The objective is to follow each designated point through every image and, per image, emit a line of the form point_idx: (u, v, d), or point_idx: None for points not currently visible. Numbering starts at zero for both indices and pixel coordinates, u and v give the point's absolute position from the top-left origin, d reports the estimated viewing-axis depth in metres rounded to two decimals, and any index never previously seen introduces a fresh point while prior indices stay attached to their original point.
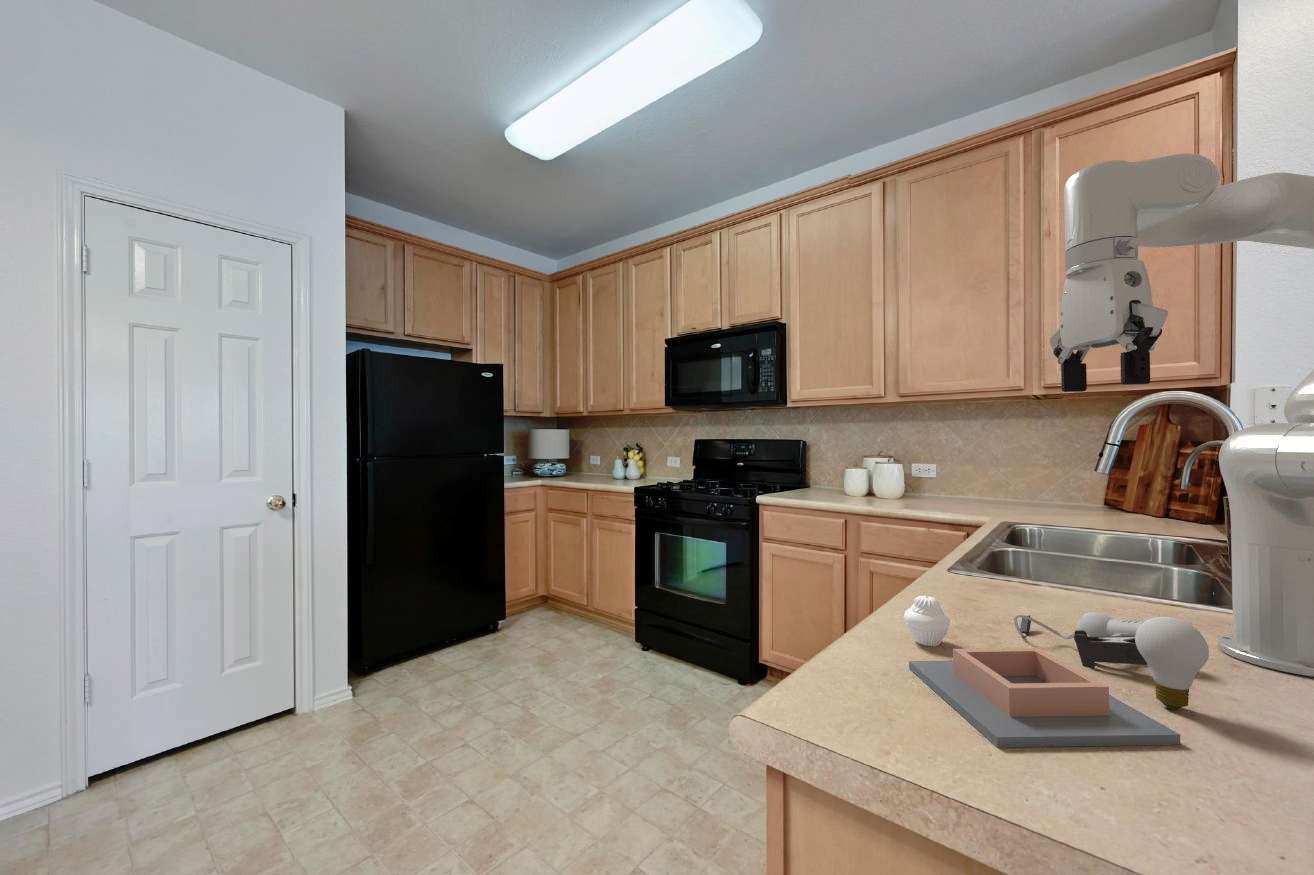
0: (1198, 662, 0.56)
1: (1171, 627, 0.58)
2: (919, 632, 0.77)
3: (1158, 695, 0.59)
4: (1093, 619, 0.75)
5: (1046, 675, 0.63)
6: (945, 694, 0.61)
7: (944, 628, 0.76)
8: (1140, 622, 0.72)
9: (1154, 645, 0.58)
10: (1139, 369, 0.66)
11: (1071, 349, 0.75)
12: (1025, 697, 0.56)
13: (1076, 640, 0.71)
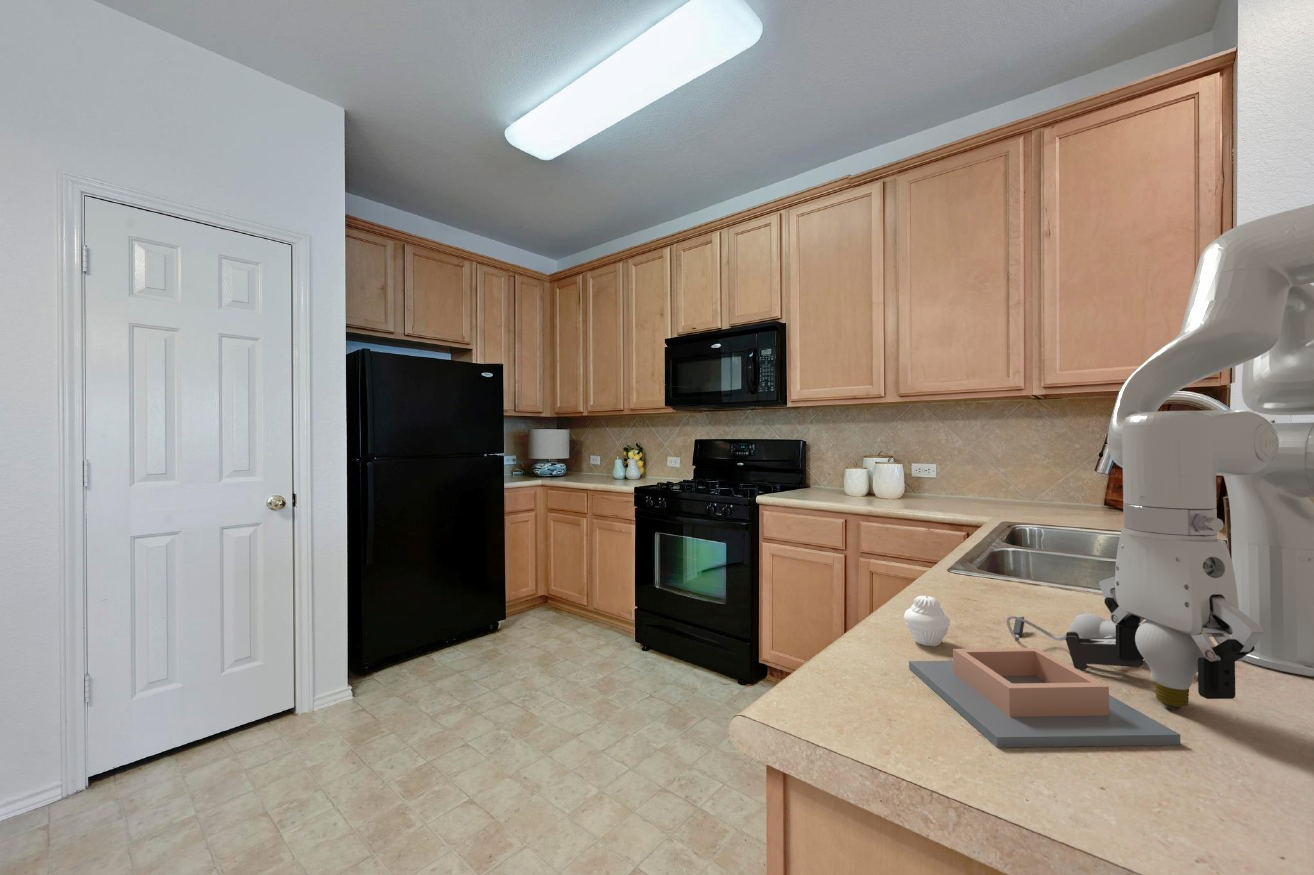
0: None
1: None
2: (919, 632, 0.77)
3: (1158, 695, 0.59)
4: (1086, 621, 0.75)
5: (1046, 675, 0.63)
6: (945, 694, 0.61)
7: (944, 628, 0.76)
8: None
9: (1154, 645, 0.58)
10: (1223, 684, 0.53)
11: (1129, 613, 0.63)
12: (1025, 697, 0.56)
13: (1067, 642, 0.70)
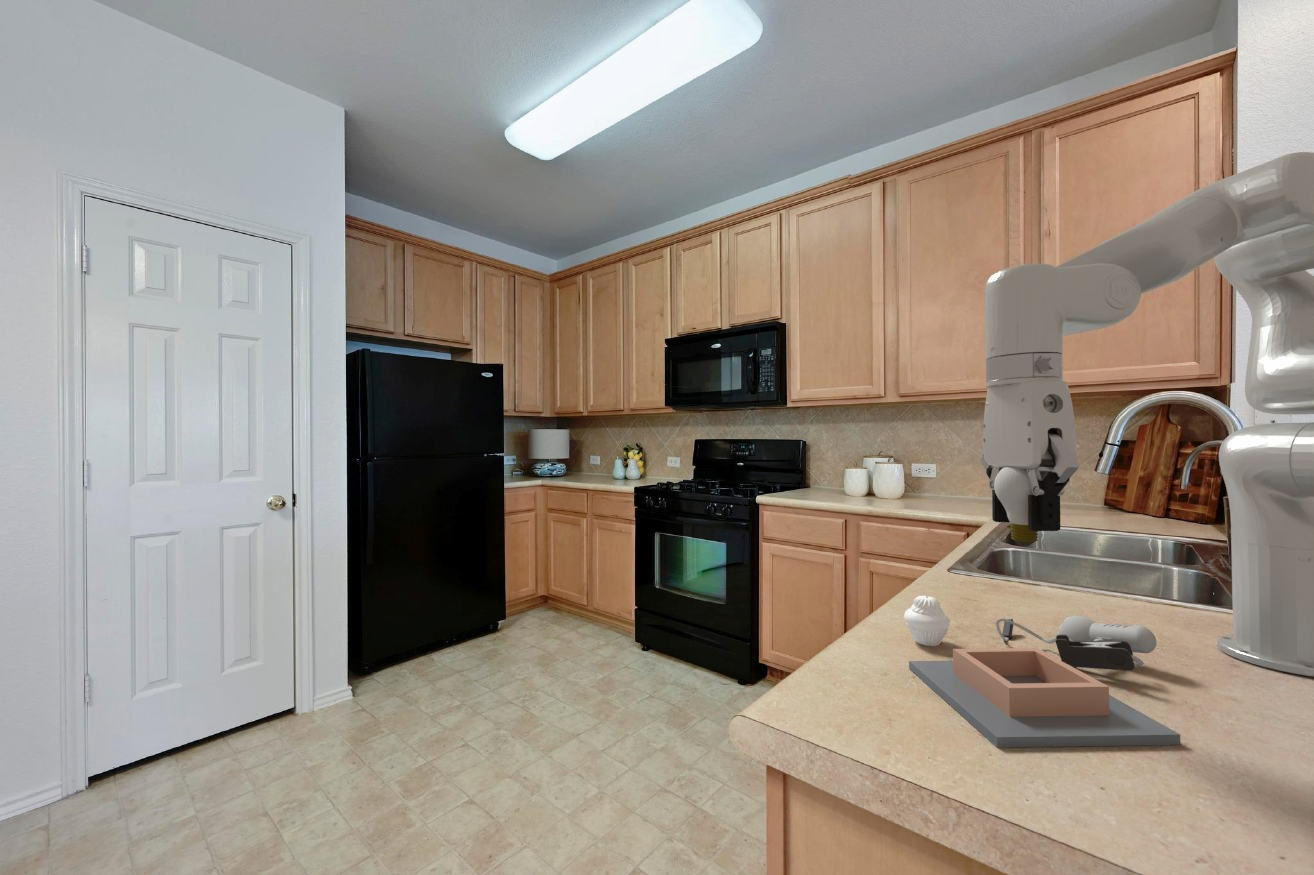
0: None
1: None
2: (919, 632, 0.77)
3: (1012, 534, 0.63)
4: (1075, 623, 0.74)
5: (1046, 675, 0.63)
6: (945, 694, 0.61)
7: (944, 628, 0.76)
8: (1122, 626, 0.70)
9: (1005, 484, 0.62)
10: (1047, 516, 0.59)
11: (999, 470, 0.65)
12: (1025, 697, 0.56)
13: (1058, 645, 0.69)
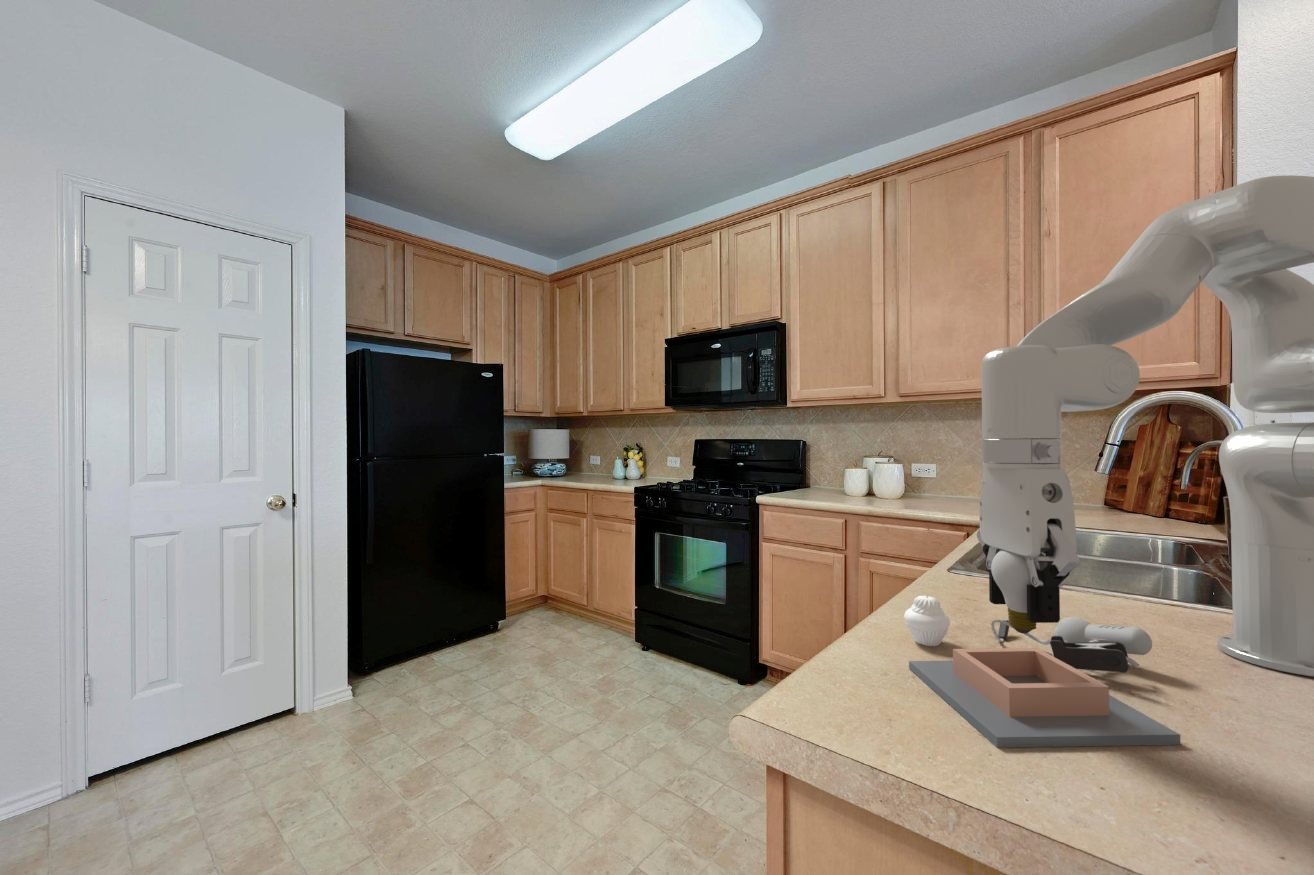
0: None
1: None
2: (919, 632, 0.77)
3: (1009, 620, 0.61)
4: (1071, 624, 0.73)
5: (1046, 675, 0.63)
6: (945, 694, 0.61)
7: (944, 628, 0.76)
8: (1118, 627, 0.70)
9: (1003, 571, 0.60)
10: (1046, 608, 0.57)
11: (996, 551, 0.64)
12: (1025, 697, 0.56)
13: (1052, 646, 0.69)
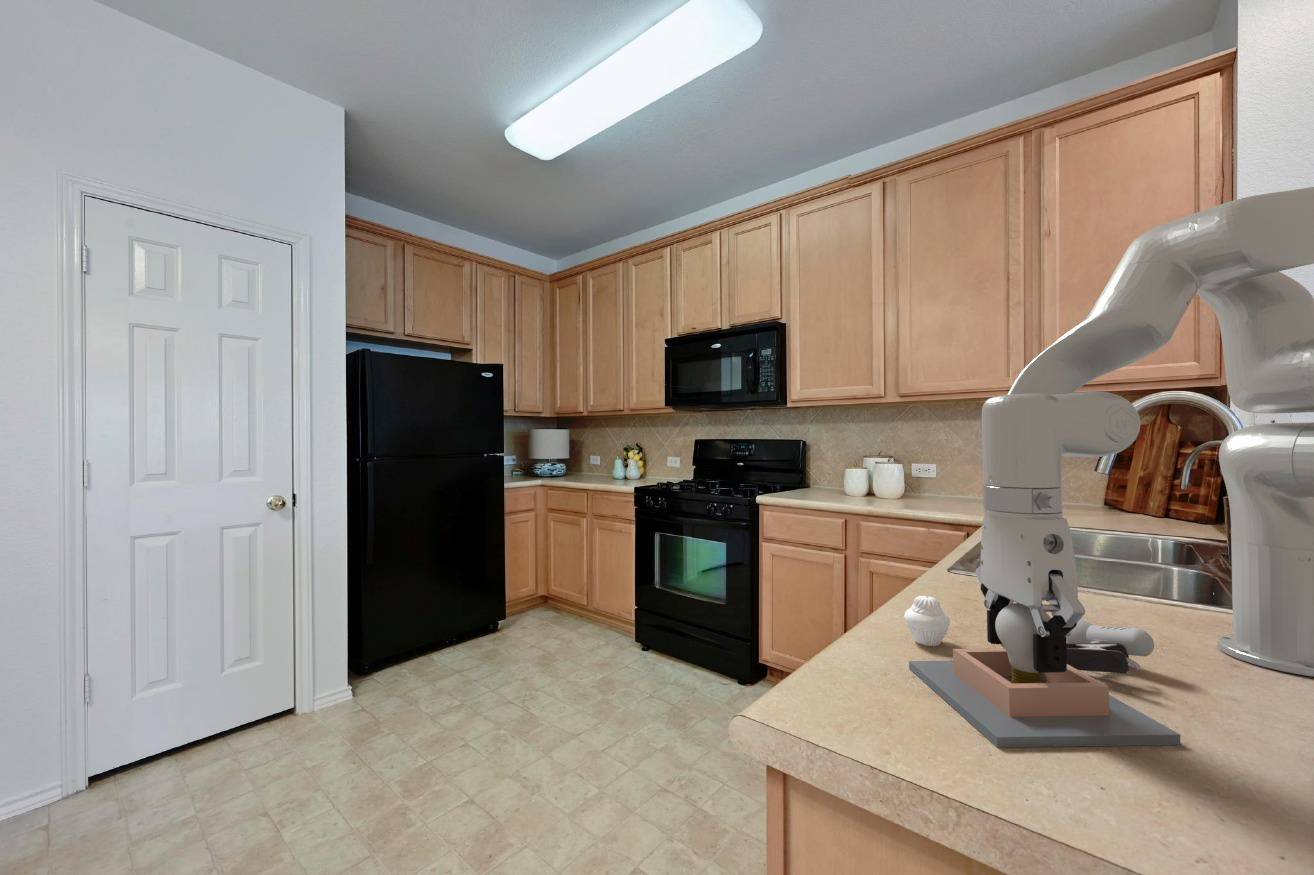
0: None
1: (1023, 611, 0.60)
2: (919, 632, 0.77)
3: (1013, 678, 0.61)
4: None
5: (1046, 675, 0.63)
6: (945, 694, 0.61)
7: (944, 628, 0.76)
8: (1120, 628, 0.69)
9: (1007, 629, 0.60)
10: (1053, 658, 0.56)
11: (995, 594, 0.64)
12: (1025, 697, 0.56)
13: None
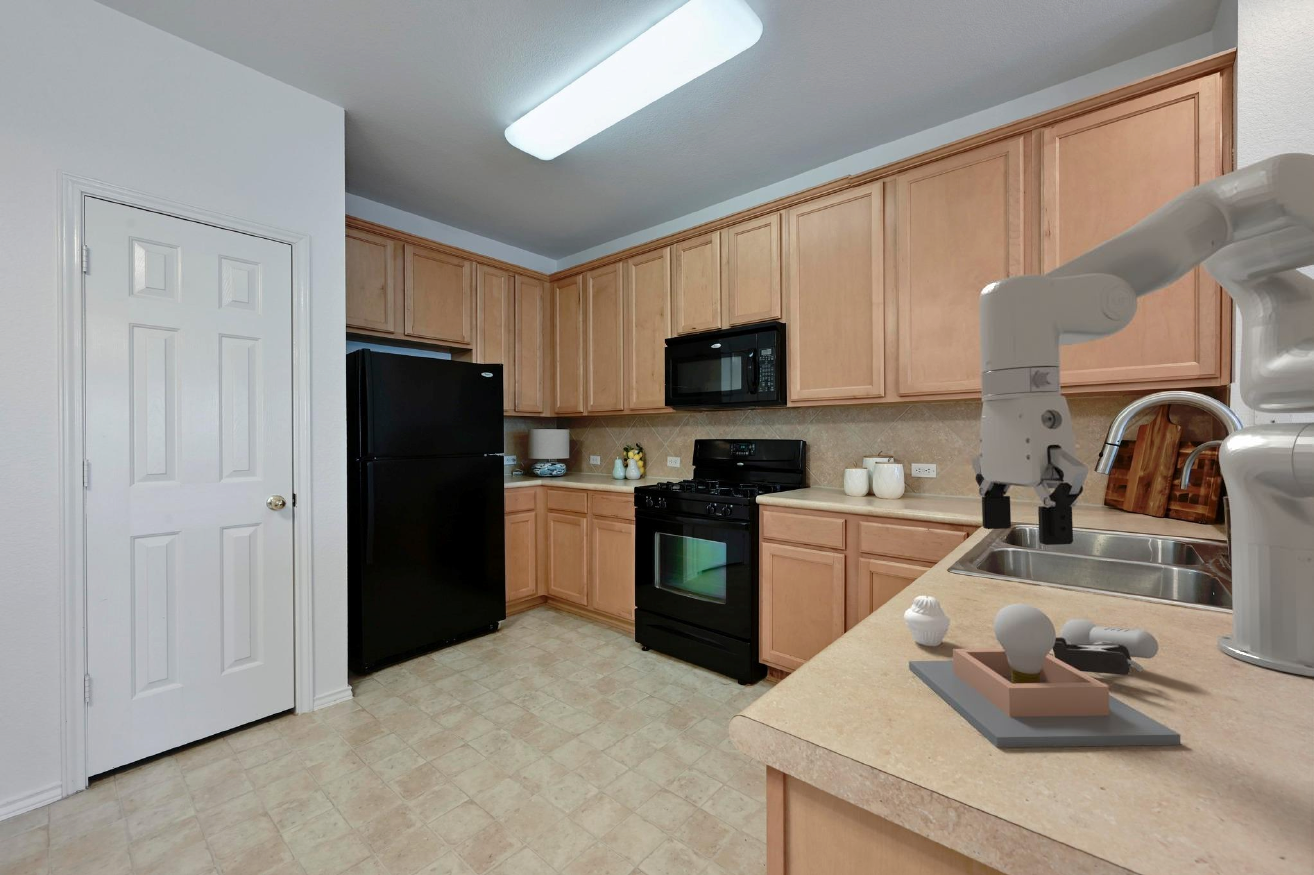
0: (1043, 646, 0.58)
1: (1020, 613, 0.60)
2: (919, 632, 0.77)
3: (1012, 679, 0.61)
4: (1076, 626, 0.73)
5: (1046, 675, 0.63)
6: (945, 694, 0.61)
7: (944, 628, 0.76)
8: (1124, 630, 0.69)
9: (1005, 631, 0.60)
10: (1059, 529, 0.55)
11: (991, 482, 0.65)
12: (1025, 697, 0.56)
13: (1053, 647, 0.68)
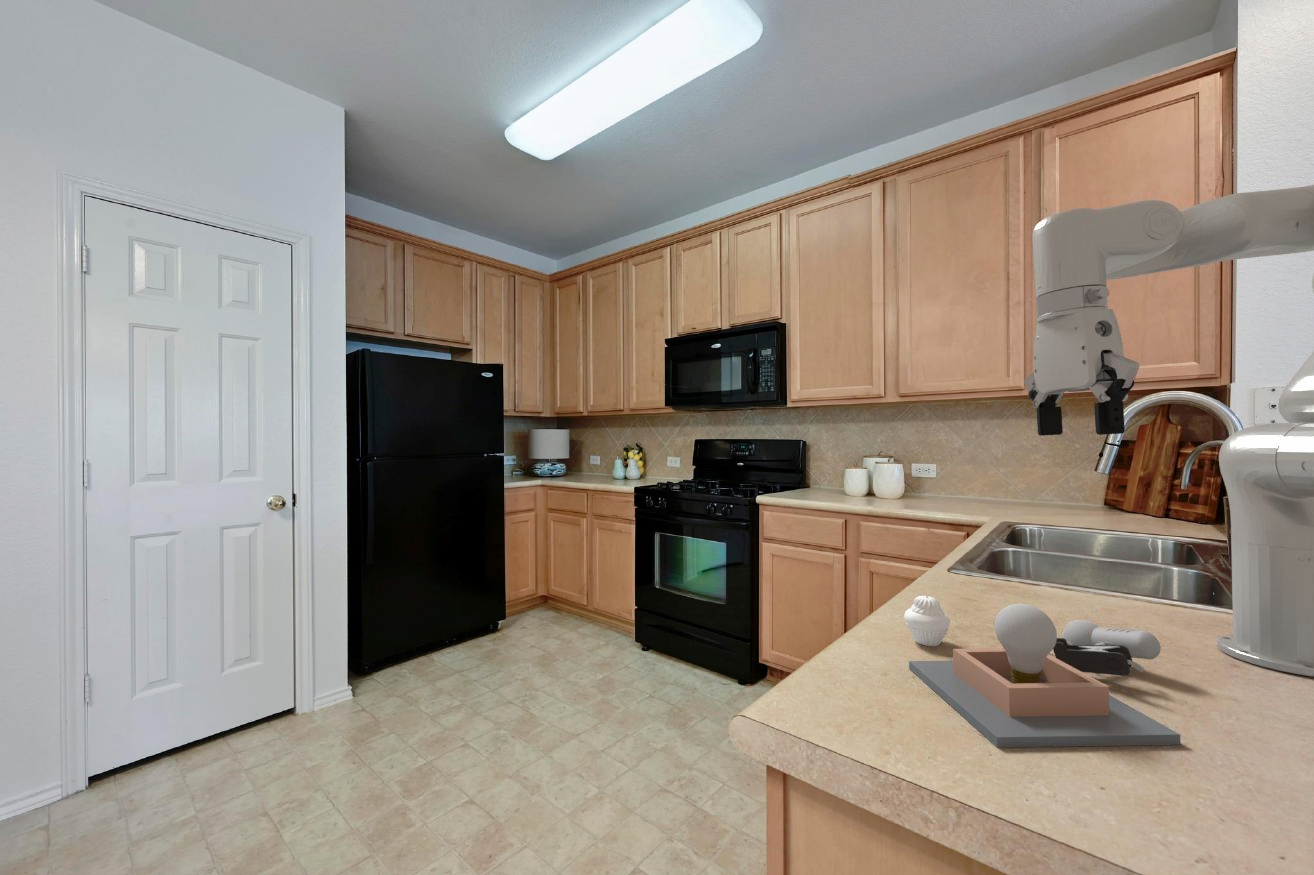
0: (1044, 646, 0.58)
1: (1022, 613, 0.60)
2: (919, 632, 0.77)
3: (1013, 679, 0.61)
4: (1078, 627, 0.72)
5: (1046, 675, 0.63)
6: (945, 694, 0.61)
7: (944, 628, 0.76)
8: (1125, 631, 0.68)
9: (1006, 630, 0.60)
10: (1113, 420, 0.65)
11: (1046, 394, 0.75)
12: (1025, 697, 0.56)
13: (1054, 648, 0.68)
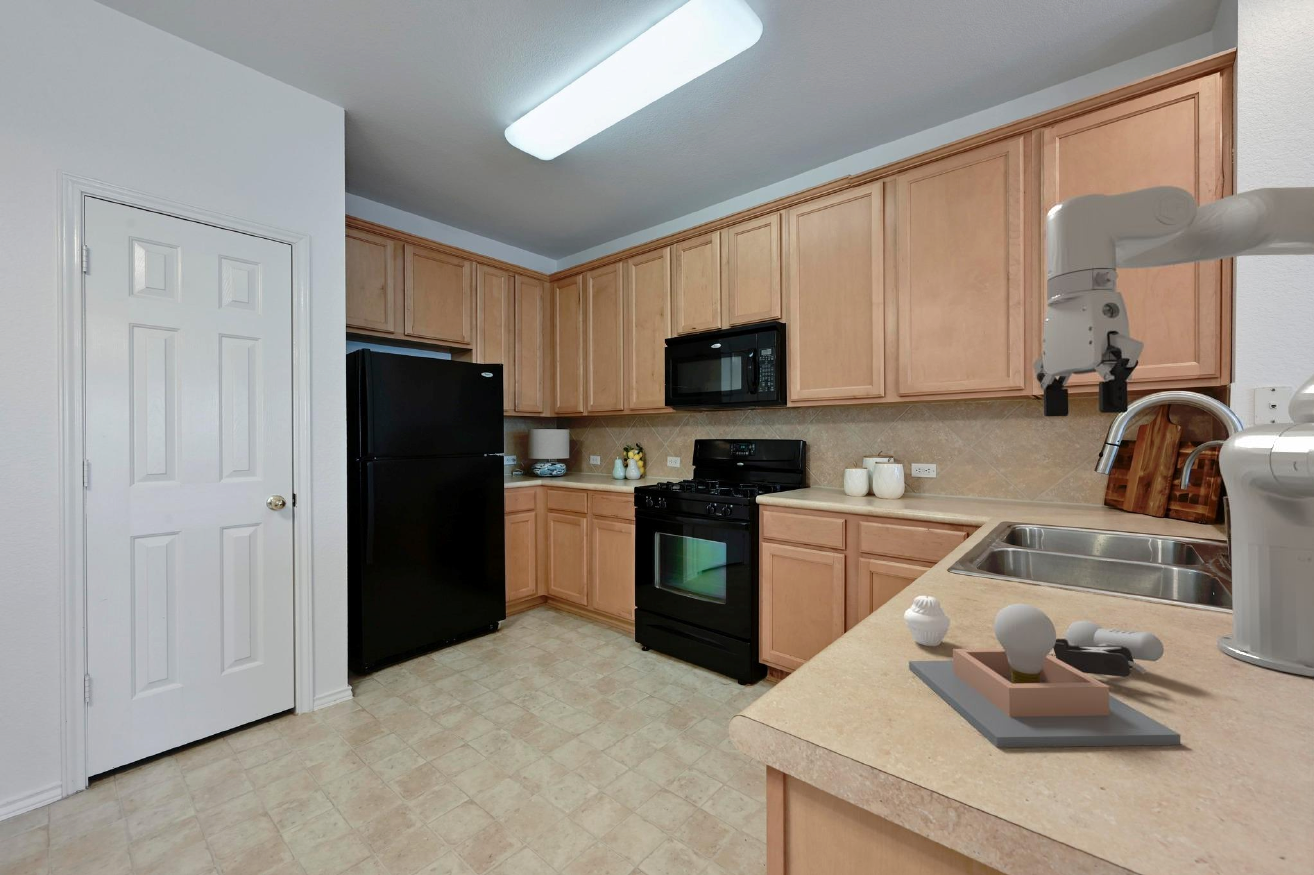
0: (1043, 646, 0.58)
1: (1021, 613, 0.60)
2: (919, 632, 0.77)
3: (1013, 680, 0.61)
4: (1080, 628, 0.72)
5: (1046, 675, 0.63)
6: (945, 694, 0.61)
7: (944, 628, 0.76)
8: (1128, 632, 0.68)
9: (1005, 631, 0.60)
10: (1116, 398, 0.68)
11: (1053, 375, 0.77)
12: (1025, 697, 0.56)
13: (1055, 648, 0.68)
